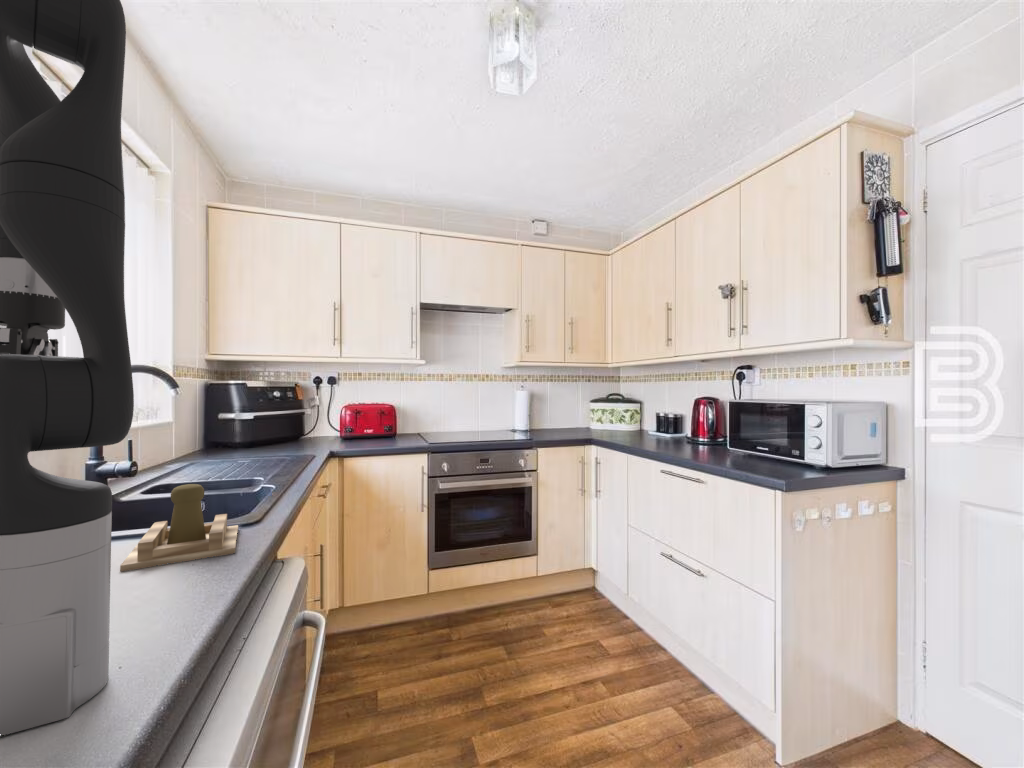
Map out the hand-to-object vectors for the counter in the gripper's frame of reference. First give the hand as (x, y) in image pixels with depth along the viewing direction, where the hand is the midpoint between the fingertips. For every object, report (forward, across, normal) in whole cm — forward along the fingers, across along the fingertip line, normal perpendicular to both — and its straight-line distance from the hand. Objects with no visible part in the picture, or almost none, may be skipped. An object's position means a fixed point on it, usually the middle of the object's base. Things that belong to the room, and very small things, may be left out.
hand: (26, 403), depth 64 cm
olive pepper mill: (+27, +12, -18) cm, 35 cm away
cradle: (+28, +12, -18) cm, 35 cm away
